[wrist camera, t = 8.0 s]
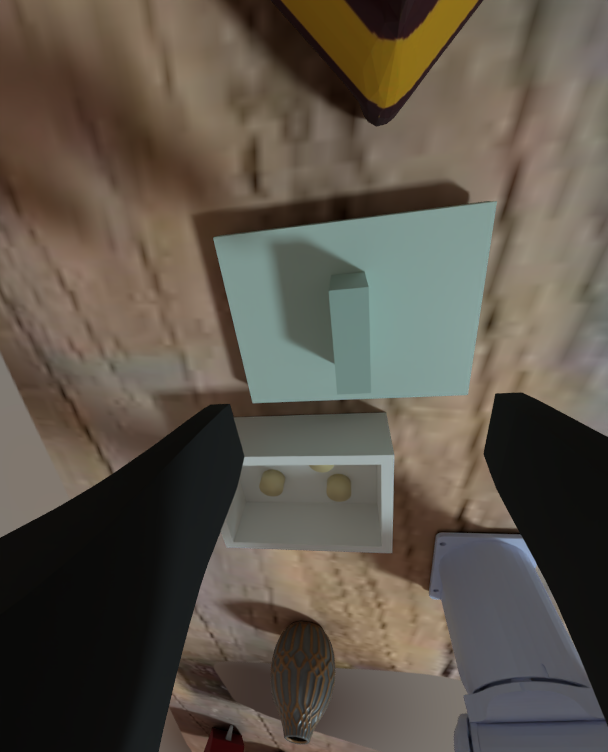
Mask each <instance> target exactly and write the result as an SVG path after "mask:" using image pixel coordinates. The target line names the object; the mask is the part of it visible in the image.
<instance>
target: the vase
mask: <svg viewBox="0 0 608 752" xmlns="http://www.w3.org/2000/svg"><path fill="white" fill-rule="evenodd" d="M334 683H335V658H334V652H333V648H332V645H331V642H330V640H329V638H328V636H327V635H326V633H325V632H324V630H323V629H322V628H321V627H320V626H318V625H316V624H314V623H311V622H304V621H300V622H295V623H293V624H291V625H290V626H289V627H288V628H287V629H285V631H284V632H283V633H282V634H281V636H280V638H279V640H278V642H277V644H276V647H275V650H274V654H273V658H272V664H271V690H272V695H273V699H274V702H275V705H276V708H277V711H278V713H279V716H280V718H281V722H282V726H283V732H284V738H285V739H286V740H287V741H289V742H292V743H295V744H308V743H309V742H310V739H311V736H312V734H313V731H314V729H315V727H316V725H317V724H318V722H319V720H320V719H321V717H322V716H323V714H324V712H325V711H326V709H327V707H328V705H329V703H330V700H331V697H332V693H333V689H334Z"/></svg>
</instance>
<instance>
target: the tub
mask: <svg viewBox="0 0 608 752" xmlns="http://www.w3.org/2000/svg"><path fill="white" fill-rule="evenodd" d="M234 421H235V424H236V428H237V431H238V435H239V438H240V442H241V445H242V449H243V453H244V456H245V457H244V462H243V466H242V470H241V475H240V479H239V483H238V486H237V490H236V492H235V495H234V498H233V500H232V503H231V506H230V508H229V511H228V514H227V516H226V519H225V521H224V524H223V526H222V529H221V534H222V536H223V539H224V541H225V544H226V547H229V548H257V549H285V550H313V551H340V552H368V553H392V539H393V491H394V451H393V446H392V441H391V436H390V430H389V425H388V420H387V415H386V412H383V413H352V414H321V415H290V416H259V417H234Z"/></svg>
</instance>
